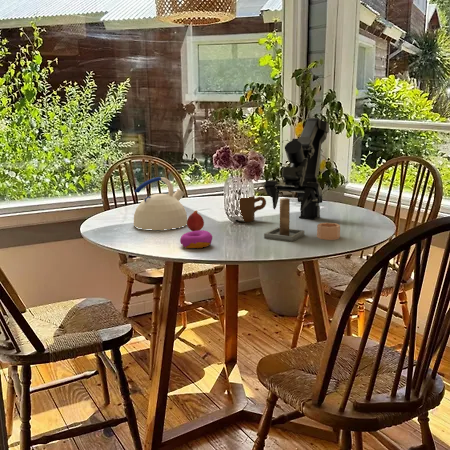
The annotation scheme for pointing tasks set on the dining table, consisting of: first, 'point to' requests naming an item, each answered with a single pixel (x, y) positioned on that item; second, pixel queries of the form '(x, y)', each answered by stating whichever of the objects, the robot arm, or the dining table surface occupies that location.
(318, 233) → the terracotta cup
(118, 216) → the dining table surface
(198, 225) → the onion
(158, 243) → the dining table surface
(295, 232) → the grey tray
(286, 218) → the walnut dowel
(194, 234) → the donut
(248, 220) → the mug
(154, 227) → the kettle
